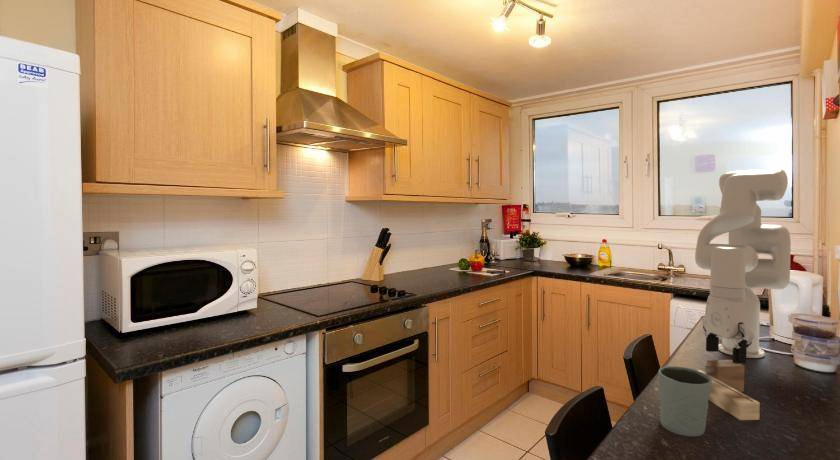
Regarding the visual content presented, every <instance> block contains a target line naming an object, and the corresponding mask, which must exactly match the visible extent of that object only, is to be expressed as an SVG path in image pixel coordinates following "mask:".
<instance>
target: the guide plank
mask: <svg viewBox="0 0 840 460" xmlns="http://www.w3.org/2000/svg"><path fill="white" fill-rule="evenodd" d="M696 370H697V371H700V372H702V373H704V374H706V375H708V374H707V372H704V371H703V370H700V369H696ZM708 376H709V377H710V378H711V380H712V383H711V389H710V394H709V399H708V402H711V404H714V405H715V406H717V407H718V408H720V409H722V410H723V411H725V412H727V413H728V414H730V415H732V416H733V417H734V418H736V419H738V420H739V421H757V420H759V421H760V412H761V411H760V409H761V408H760V407H761V406H760V405H761V403H760V401H758V400H756V399H755V398H752V397H750V396H749V395H747V394H745V393H743V392H740V391H738V390H736V389H734V388H732V387H730V386H729V385H727V384H725V383H723V382H721V381H719V380H718V379H716V378H714V377H712V376H710V375H708Z"/></svg>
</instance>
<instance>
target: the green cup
mask: <svg viewBox="0 0 840 460" xmlns="http://www.w3.org/2000/svg"><path fill="white" fill-rule="evenodd" d="M697 370H698V369H694V368H693V369H692V368H689V367H684V366H677V365H675V366H674V365H671V366H668V365H667V366H664V367H663V366H662V367H660V368H659V369H658V384H659V387H658V388H659V389H658V390H659V391H658V393H659V404H660V406H659V421H660V425H661V426H662V427H663V428H664V429H665V430H667V431H669V432H671V433H673V434H677V435H680V436H684V437H700V436H703V435H704V434H705V432H706V425H707V416H708V411H709V410H708V409H709V400H708V399H709V394H710V389H711V383H712V380H711V378H710V377H709V376H708V375H706V374H704V373H702V372H700V371H697Z"/></svg>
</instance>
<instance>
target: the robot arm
mask: <svg viewBox="0 0 840 460" xmlns="http://www.w3.org/2000/svg"><path fill="white" fill-rule="evenodd" d="M718 186H719V189H720V193H721V195H722V196H721V203H720V208H719V214H718V215H715V217H713V218H712V219H711V220H709V221H708V222H707V223H706V224H705V225H704V226H703V228H701V229H700V232H699V234H698V237H697V240H696V241H697V242H696V247H695V253H694V254H695V257H694V258H695V264H696V265H697V267H699V268H700V269H702V270H707V271H709V270H710V277H709V281H710V283H709V285H710V286H709V295H708V297H707V300H706V303H705V311H704V316H703V317H702V318H701V323H702V325H703V326H702V328H703V331H704V336H705V350H706V351H707V352H710V353H711V352H712V353H713V352H716V353H717V352H722V354H723V353H724V354H727V355H730V356H732V359H731V360H732V361H733V363H735V364H742V365H743V364H746V363H747V359H760V358H764V357H765V353H766V352H765V351H764V349H761V348H760V347H759V345H760V321H761V320H760V318H761V317H760V316H761V315H760V313H761V302H760V298H759V296H758V295H757V294H755V292H754V291H753V290H752V288H753V289H755V288H756V289H757V288H758V289H768V290H784V289H786V288H788V286H789V283H790V280H791V278H790V277H791V250H792V249H791V247H792V243H791V234H790V231H789V230H788V228H787V227H785V226H784V225H779V224H762V209H761V207H760V205H759V204H758V203H757V202H760V201H761V202H765V201H766V202H768V201H780V200H782V199H783V197H784V196H785V194H786V191H787V189H788V176H787V173H786V171H785V170H784V169H780V168H773V169H770V168H769V169H748V170H747V169H746V170H736V171H735V170H734V171H729V172H725V173H723V174H721V175H720V177H719V180H718ZM723 234H728V243H726V244H725V243H711V241H712V240H714V239H715V238H717V237H719V236H721V235H723ZM759 255H768V256H770V257H771V258H759ZM719 340H721V343H719Z"/></svg>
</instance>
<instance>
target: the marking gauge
mask: <svg viewBox="0 0 840 460" xmlns="http://www.w3.org/2000/svg"><path fill="white" fill-rule="evenodd" d="M732 360H733V359H713V360H712V359H710V360H706V366H705V371H706V373H707V374H708V375H710V376H712V377H714V378H716V379H718V380H719V381H721V382H723V383H725V384H727V385H729V386H730V387H732V388H734V389H736V390H738V391H740V392H741V393H743V392H745V371H746V366H745V365H743V364H735V363H733V361H732Z"/></svg>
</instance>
